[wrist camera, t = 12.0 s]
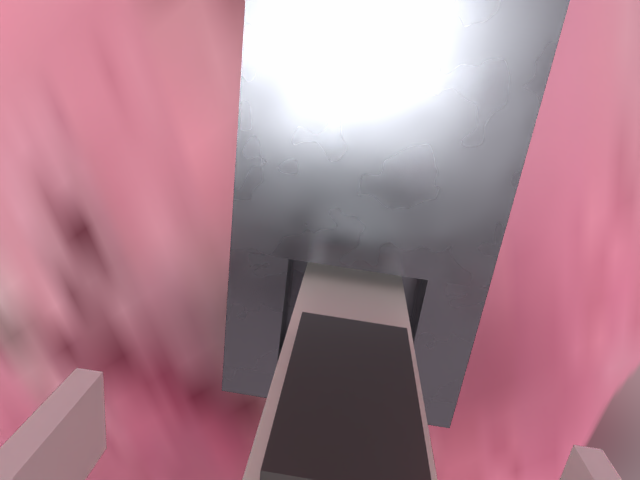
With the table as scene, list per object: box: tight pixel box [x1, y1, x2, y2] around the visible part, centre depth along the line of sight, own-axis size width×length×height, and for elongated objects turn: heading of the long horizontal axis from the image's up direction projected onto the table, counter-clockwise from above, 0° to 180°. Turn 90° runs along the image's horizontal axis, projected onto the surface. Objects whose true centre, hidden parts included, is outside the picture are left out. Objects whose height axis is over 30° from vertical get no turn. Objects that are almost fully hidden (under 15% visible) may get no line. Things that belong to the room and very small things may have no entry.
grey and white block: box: [222, 0, 570, 428], centre depth 12 cm, size 10×26×14 cm, turn 173°
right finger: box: [242, 262, 437, 480], centre depth 14 cm, size 5×4×13 cm
